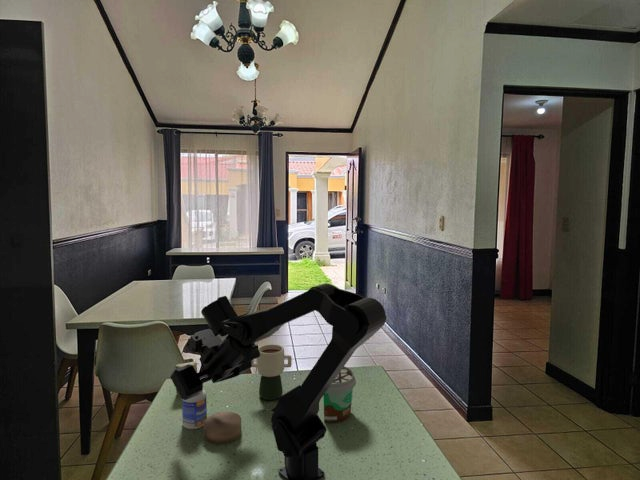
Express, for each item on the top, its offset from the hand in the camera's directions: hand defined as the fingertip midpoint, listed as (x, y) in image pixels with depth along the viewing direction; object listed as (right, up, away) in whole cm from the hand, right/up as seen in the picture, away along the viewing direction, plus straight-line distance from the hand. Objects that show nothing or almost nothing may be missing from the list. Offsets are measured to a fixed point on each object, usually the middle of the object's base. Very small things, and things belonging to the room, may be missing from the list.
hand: (197, 388), depth 95 cm
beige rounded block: (-7, -7, +17) cm, 20 cm away
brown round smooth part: (+7, -9, -3) cm, 12 cm away
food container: (+33, -9, +6) cm, 35 cm away
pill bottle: (-1, -9, +2) cm, 9 cm away
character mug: (+15, -8, +15) cm, 23 cm away
